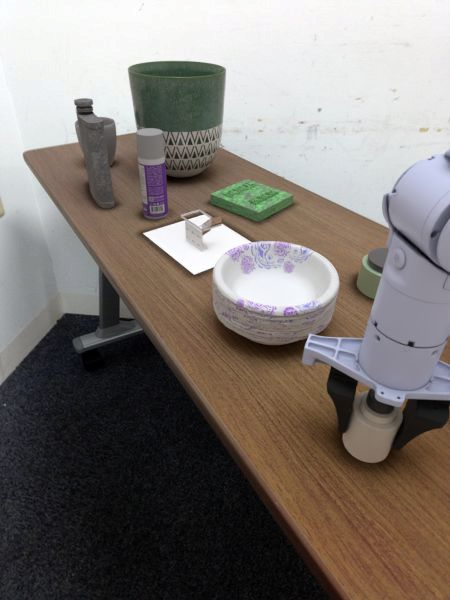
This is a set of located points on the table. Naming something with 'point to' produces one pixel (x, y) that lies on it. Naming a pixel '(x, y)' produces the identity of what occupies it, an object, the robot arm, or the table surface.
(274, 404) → the table surface
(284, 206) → the green jade tablet
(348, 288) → the table surface
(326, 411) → the table surface
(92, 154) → the flask
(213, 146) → the planter
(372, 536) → the table surface
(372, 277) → the green jar
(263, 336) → the paper bowls
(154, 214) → the container
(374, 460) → the small bottle
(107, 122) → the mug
